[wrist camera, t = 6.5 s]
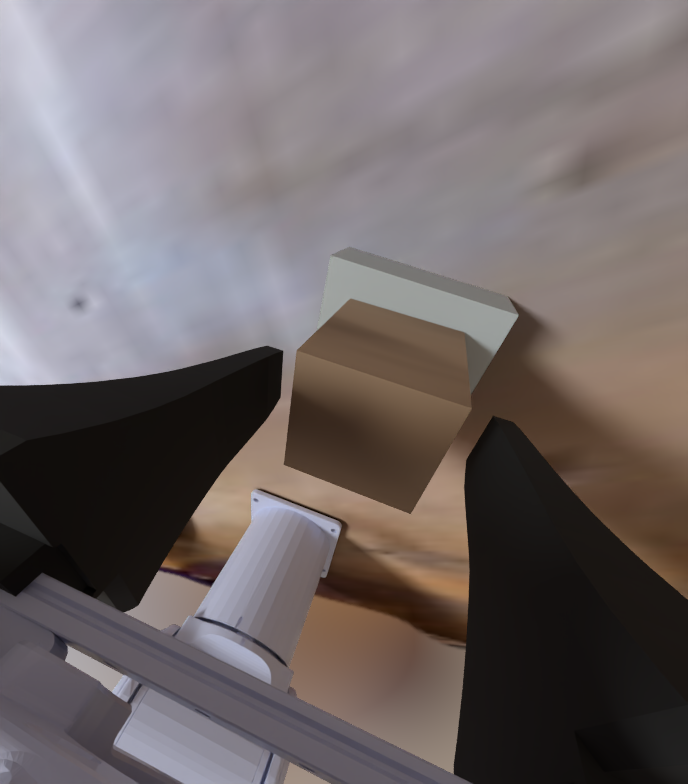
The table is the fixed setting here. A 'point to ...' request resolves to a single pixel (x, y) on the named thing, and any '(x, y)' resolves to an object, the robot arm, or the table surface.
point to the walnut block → (377, 402)
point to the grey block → (421, 301)
